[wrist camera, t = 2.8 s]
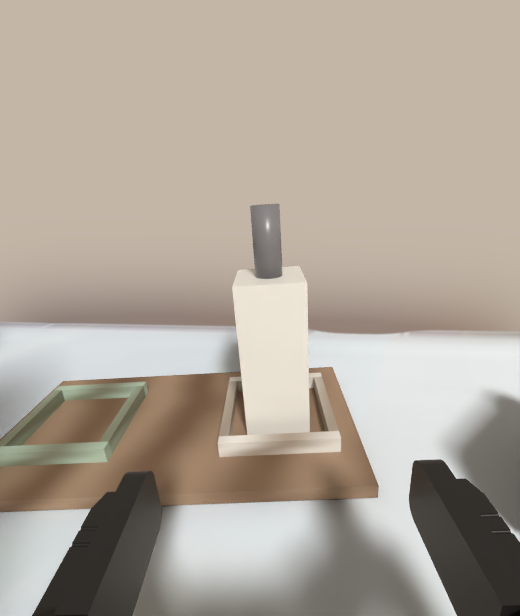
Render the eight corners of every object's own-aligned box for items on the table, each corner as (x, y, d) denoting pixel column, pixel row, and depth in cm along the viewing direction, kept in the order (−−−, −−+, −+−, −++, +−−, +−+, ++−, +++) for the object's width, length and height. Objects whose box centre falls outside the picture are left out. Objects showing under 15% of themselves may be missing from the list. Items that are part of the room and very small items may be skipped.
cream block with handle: (247, 436, 21) (224, 209, 16) (250, 394, 25) (232, 205, 20) (309, 433, 20) (305, 203, 16) (302, 391, 25) (296, 201, 20)
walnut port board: (-63, 514, 18) (-77, 490, 17) (65, 389, 29) (59, 371, 28) (377, 497, 17) (379, 471, 16) (332, 375, 28) (332, 356, 27)
